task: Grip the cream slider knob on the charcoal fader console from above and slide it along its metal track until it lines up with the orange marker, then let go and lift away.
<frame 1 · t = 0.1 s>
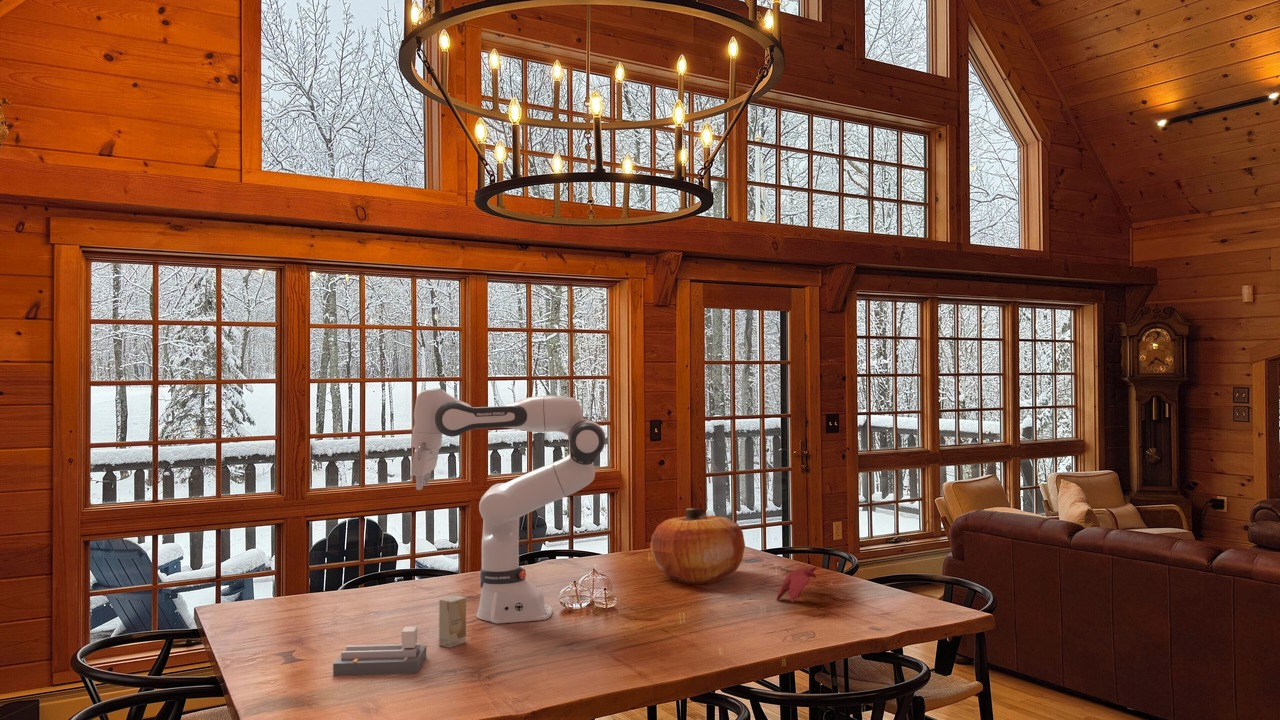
hand: (422, 487, 260), 39 cm above the table, tool pointing down, fingers open, 8 cm apart
skincare box: (452, 644, 233), on the table
pumpkin: (698, 579, 305), on the table
fader console: (381, 666, 215), on the table
decorative bird sculpture: (796, 602, 273), on the table
fader knob: (409, 640, 216), point 6 cm above the table, slide at 0.0 cm
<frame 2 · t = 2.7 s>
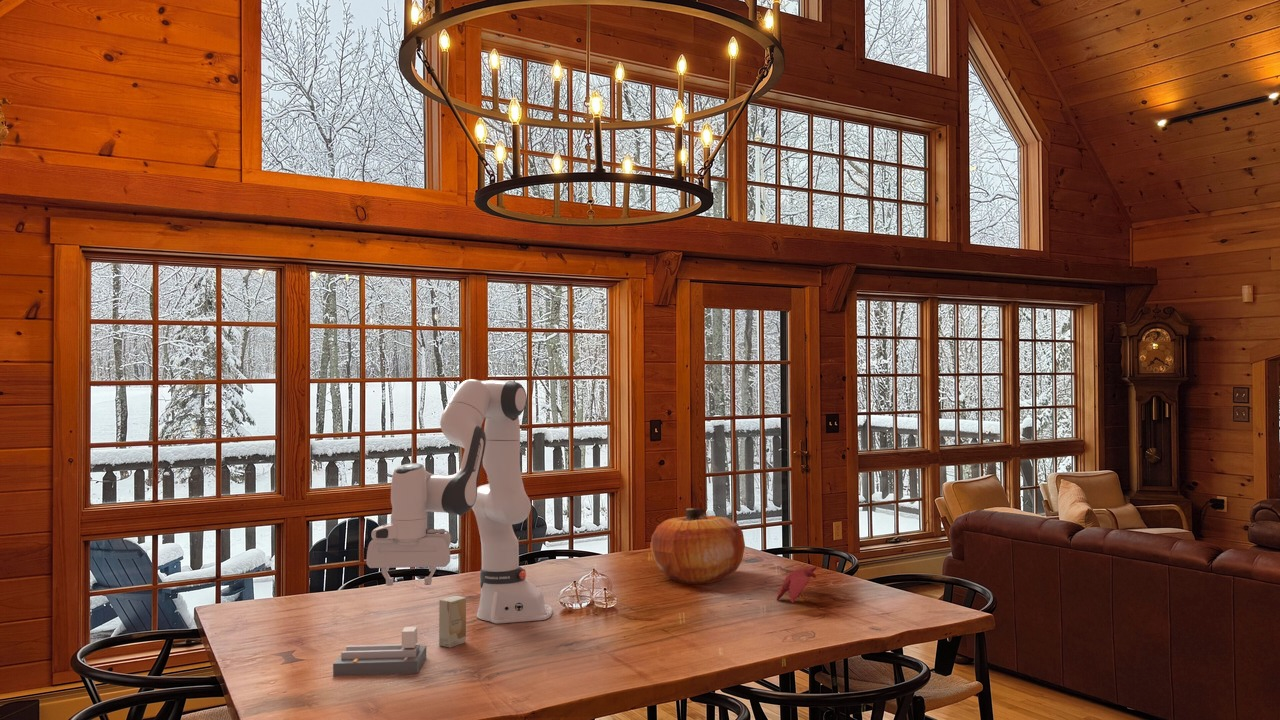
hand: (408, 584, 216), 20 cm above the table, tool pointing down, fingers open, 8 cm apart
nothing on the table moved.
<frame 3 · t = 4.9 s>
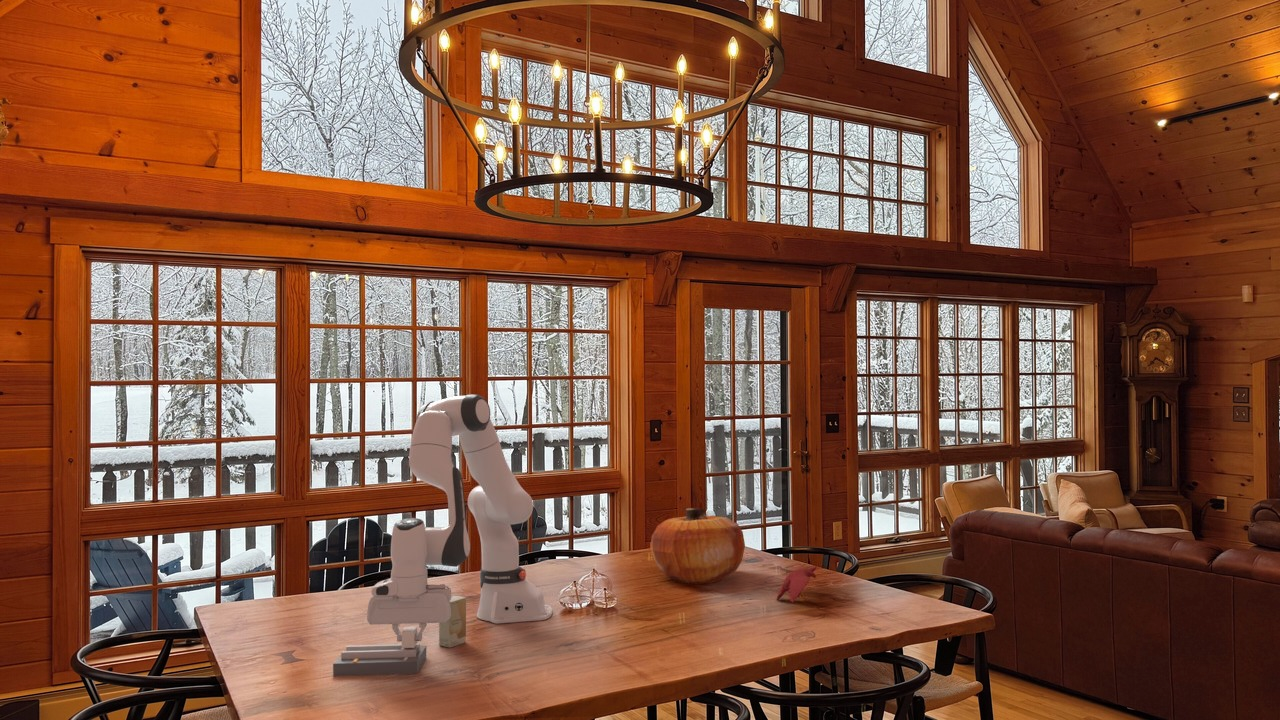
hand: (409, 640, 216), 6 cm above the table, tool pointing down, fingers closed on fader knob, 3 cm apart
fader knob: (409, 640, 216), point 6 cm above the table, slide at 0.0 cm, touching gripper
everything else where it was.
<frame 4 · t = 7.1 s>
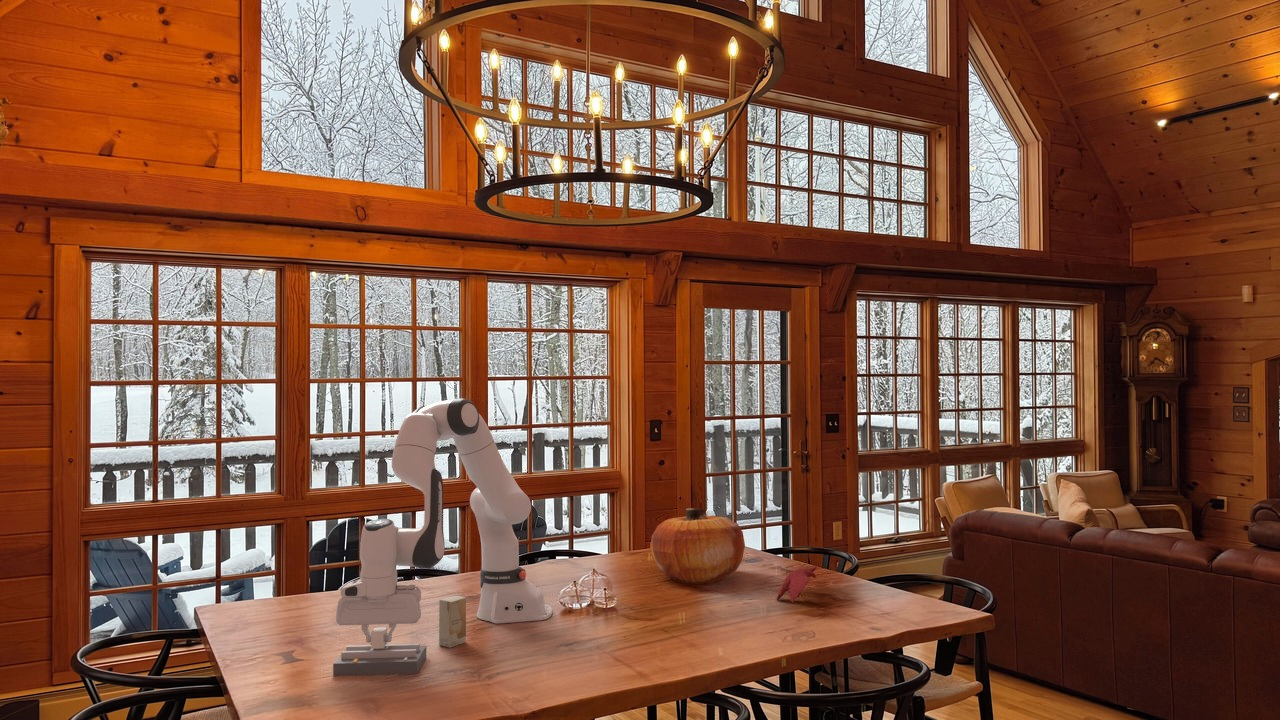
hand: (379, 641, 215), 6 cm above the table, tool pointing down, fingers closed on fader knob, 3 cm apart
fader knob: (379, 641, 215), point 6 cm above the table, slide at 7.5 cm, touching gripper
everything else where it was.
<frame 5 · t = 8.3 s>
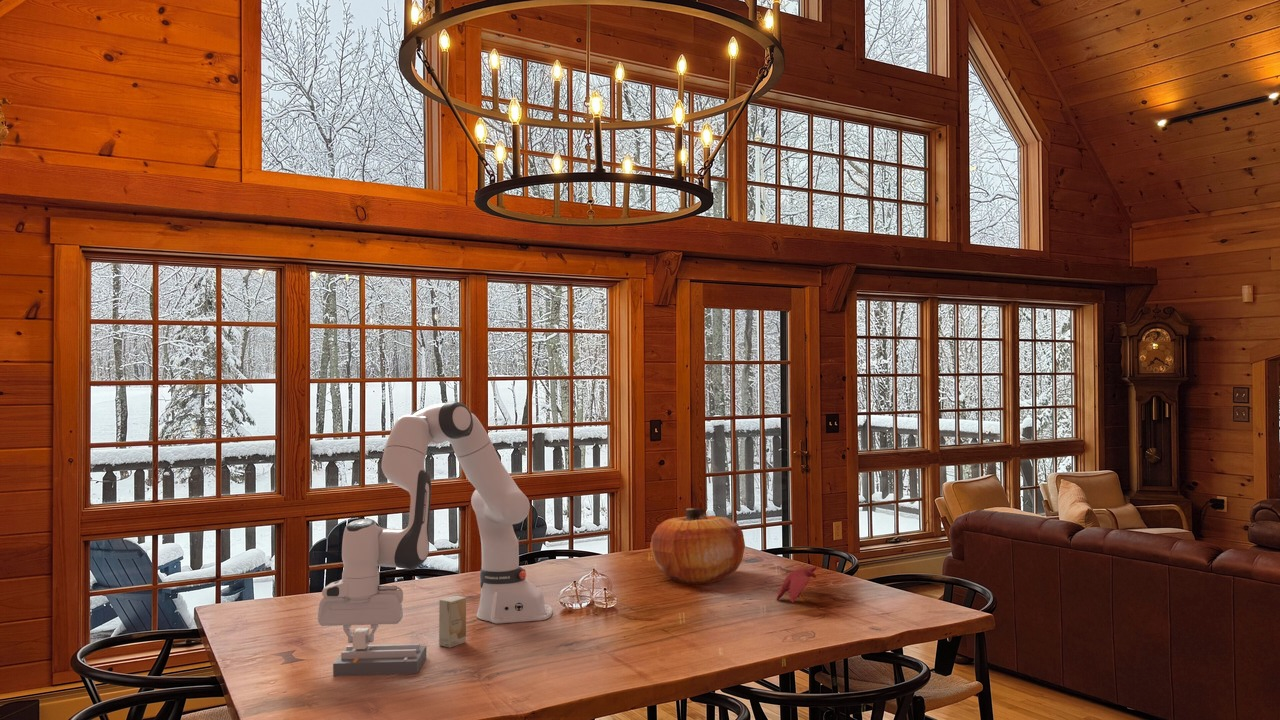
hand: (360, 642, 215), 6 cm above the table, tool pointing down, fingers closed on fader knob, 3 cm apart
fader knob: (361, 642, 215), point 6 cm above the table, slide at 11.9 cm, touching gripper
everything else where it was.
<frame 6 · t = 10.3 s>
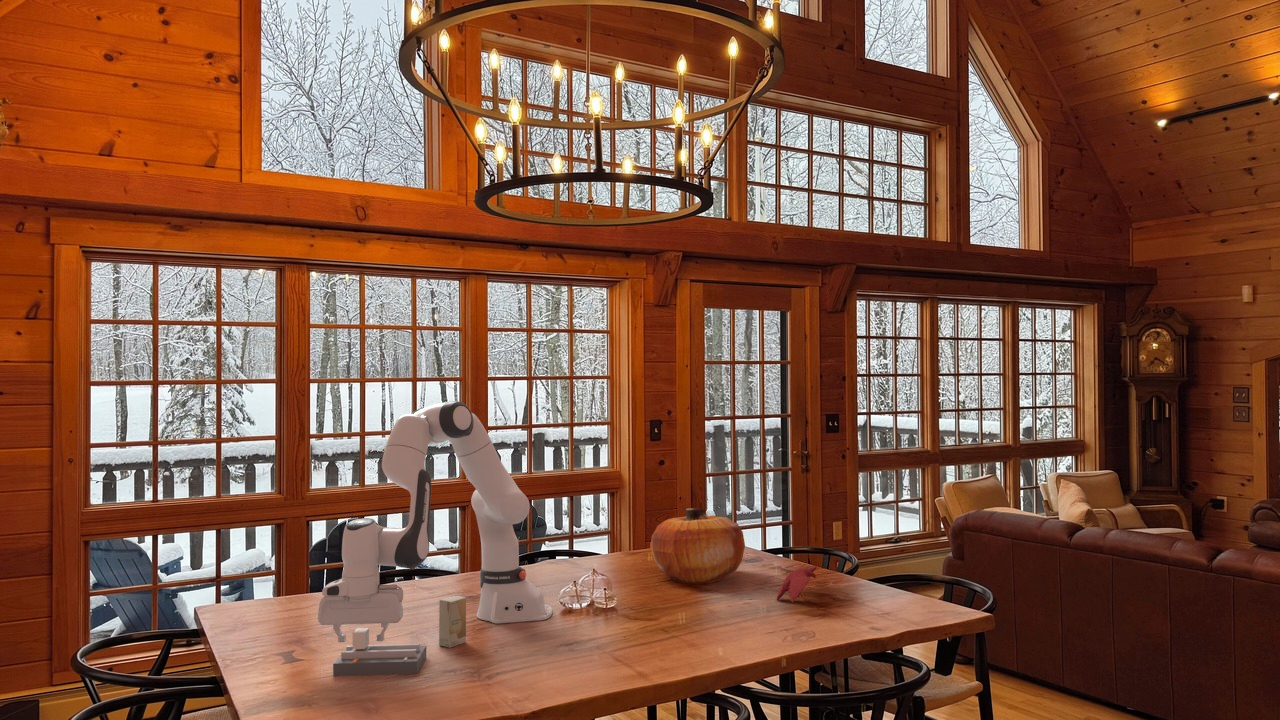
hand: (361, 641, 215), 6 cm above the table, tool pointing down, fingers open, 8 cm apart
fader knob: (360, 642, 215), point 6 cm above the table, slide at 12.0 cm
everything else where it was.
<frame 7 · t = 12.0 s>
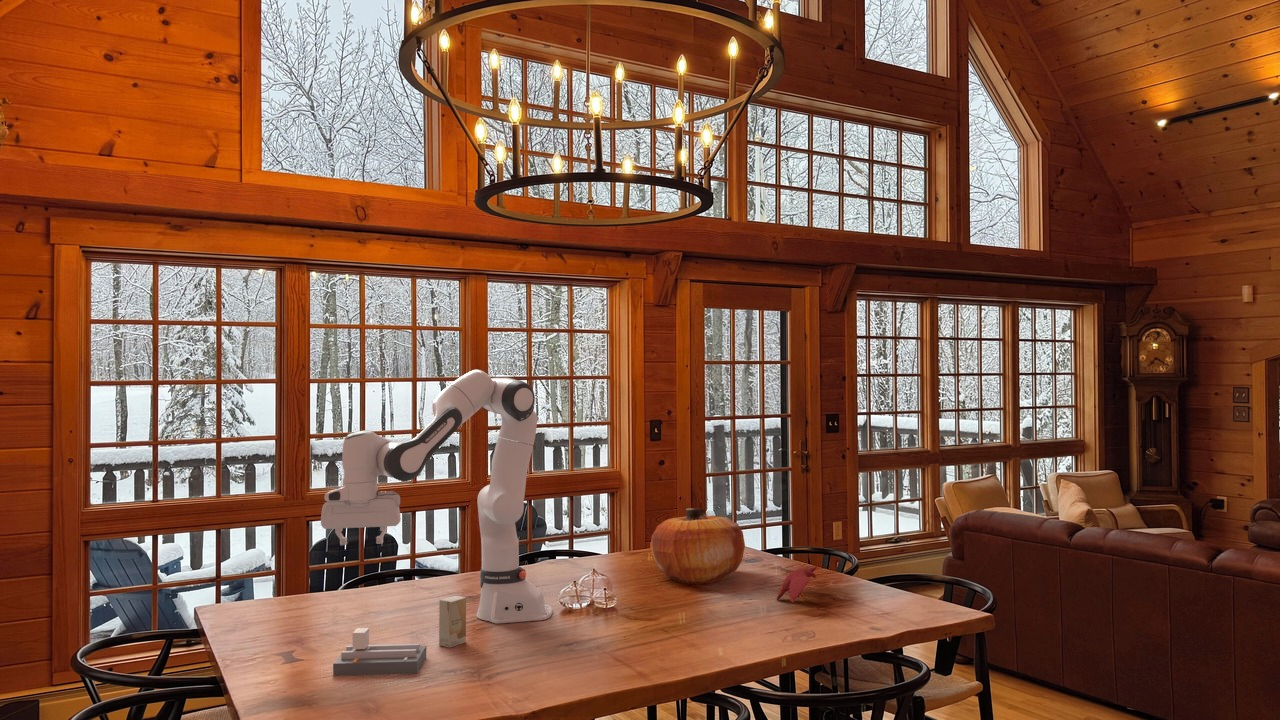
hand: (361, 544, 230), 28 cm above the table, tool pointing down, fingers open, 8 cm apart
nothing on the table moved.
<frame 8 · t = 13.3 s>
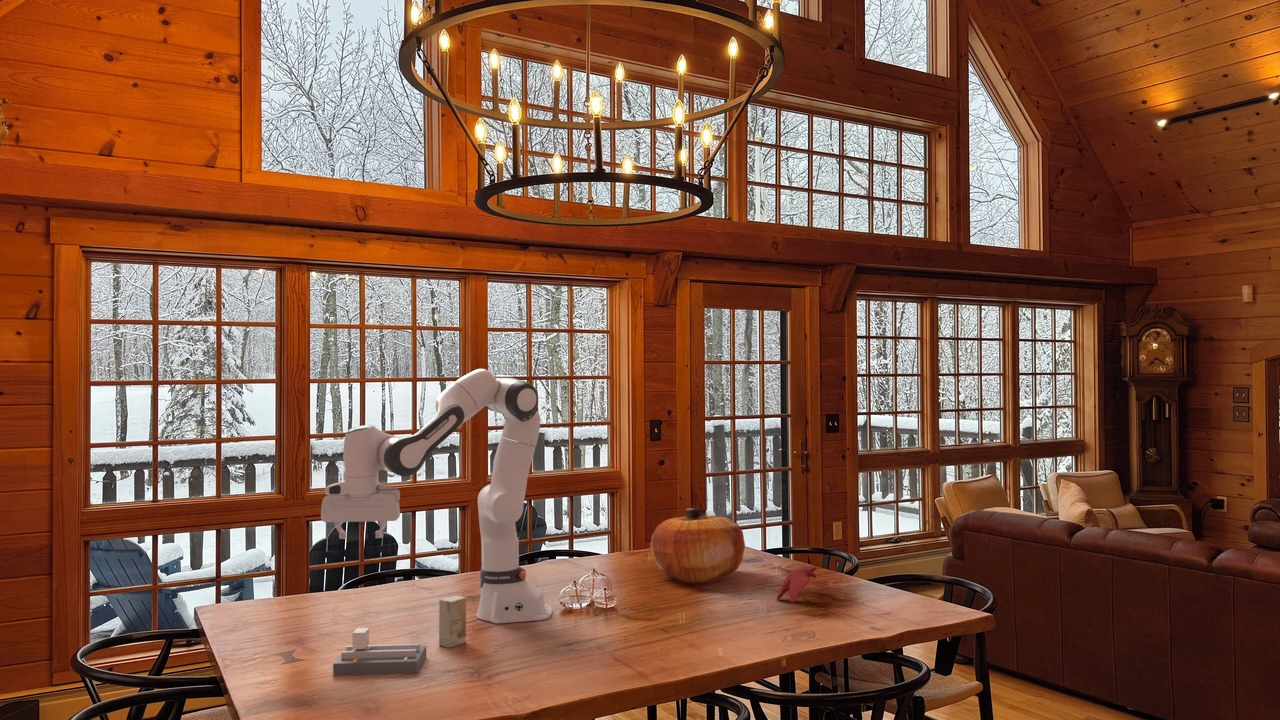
hand: (360, 538, 231), 29 cm above the table, tool pointing down, fingers open, 8 cm apart
nothing on the table moved.
at the end: fader knob slide at 12.0 cm; the gripper is holding nothing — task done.
